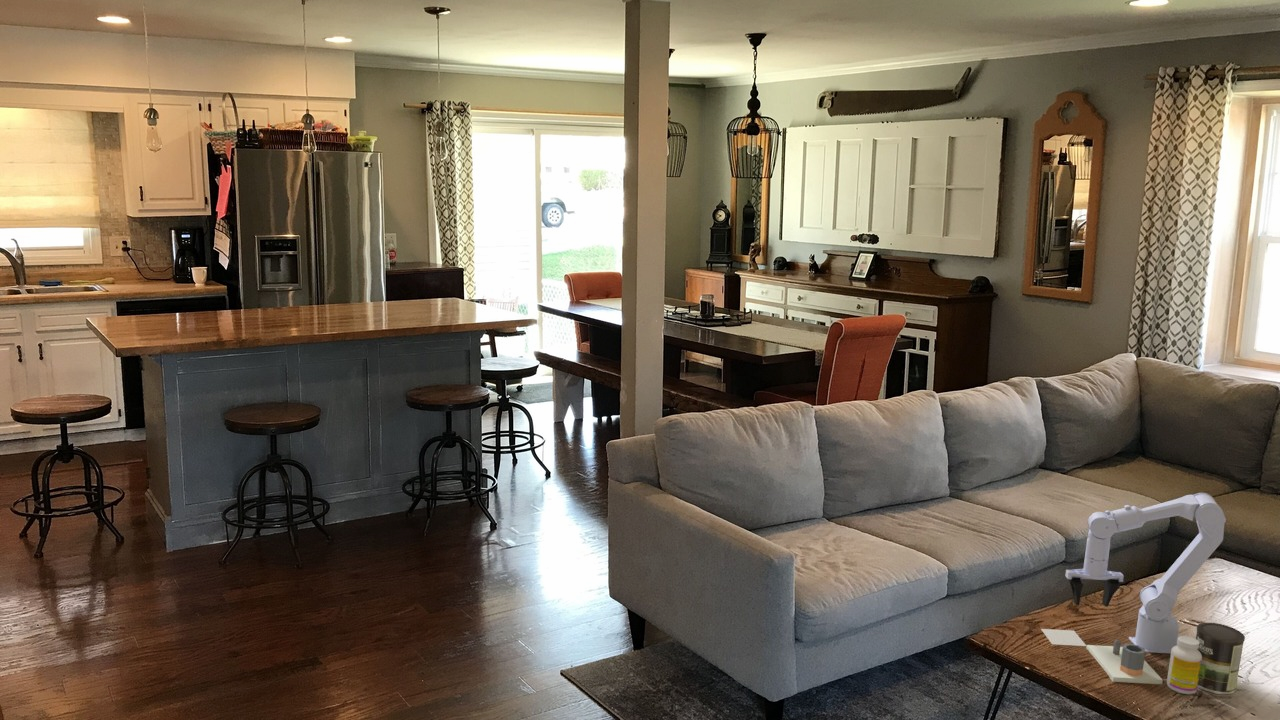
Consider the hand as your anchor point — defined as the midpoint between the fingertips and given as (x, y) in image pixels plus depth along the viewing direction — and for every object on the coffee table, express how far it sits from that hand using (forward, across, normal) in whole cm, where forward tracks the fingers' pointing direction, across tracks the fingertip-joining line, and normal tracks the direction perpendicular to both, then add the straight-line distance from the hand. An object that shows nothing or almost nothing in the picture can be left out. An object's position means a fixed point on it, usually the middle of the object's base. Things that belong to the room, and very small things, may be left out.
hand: (1090, 604), depth 269 cm
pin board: (+9, -3, +16) cm, 19 cm away
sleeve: (+8, -3, +20) cm, 22 cm away
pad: (+9, +7, +2) cm, 12 cm away
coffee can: (+10, -22, +23) cm, 33 cm away
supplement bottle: (+10, -13, +26) cm, 31 cm away
